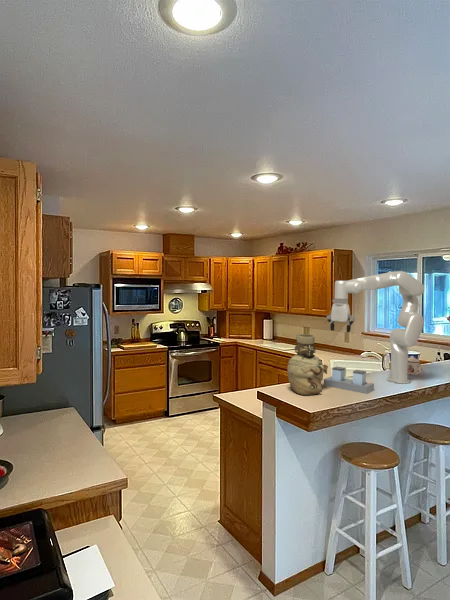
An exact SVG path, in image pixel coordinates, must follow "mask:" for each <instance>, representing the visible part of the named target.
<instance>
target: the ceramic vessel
mask: <svg viewBox="0 0 450 600" xmlns="http://www.w3.org/2000/svg"><path fill="white" fill-rule="evenodd" d="M295 338H296V343H297V344H296V345H294V352H295V353H296V354H294V355H293V356H292V357H291V358H290V359H289V360H288V363H287V371H286V372H287V378H288V382H289V386H290V388H291V389H292V391H293V392H294V393H296V394H297V395H300V396H316V395H317V396H319V395H321V394H322V392H323V388H322V382H323V381H324V374H325V375H328V368H329V365H328V364H323V362H322V360H321V359H320V358H319V357H318V356H316V354H315V353H316V346H315V345H314V344H315V340H316V335H314V334H304V333H303V334H296V335H295Z"/></svg>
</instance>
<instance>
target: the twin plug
mask: <svg viewBox="0 0 450 600" xmlns="http://www.w3.org/2000/svg"><path fill="white" fill-rule="evenodd" d="M352 378H353V384H357V385H365V384H366V382H367V370H360V369H356V370H353V371H352Z"/></svg>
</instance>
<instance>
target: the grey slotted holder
mask: <svg viewBox="0 0 450 600" xmlns="http://www.w3.org/2000/svg"><path fill="white" fill-rule="evenodd" d="M323 386H325V387H330V388H336V389H340V390H345V391H351V392H355V393H360V394H366V395H367V394H369V393H371V392H373V391H375V383H372V382H367V381H366V384H365V385H357V384H353V380H351V379H345V378H344V380H343V381H336V380H332V375H331V376H329V377H326V378H323Z"/></svg>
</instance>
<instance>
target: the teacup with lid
mask: <svg viewBox="0 0 450 600" xmlns="http://www.w3.org/2000/svg"><path fill="white" fill-rule="evenodd" d="M420 367H421V369H420ZM423 370H424V366H423V364H421V363H420V359H417V358H416V357H414V355H410V356H409V357H408V373H407V375H408V374H411V375H410V376H418V375H417V374H420V373H421V372H422V371H423Z"/></svg>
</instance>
